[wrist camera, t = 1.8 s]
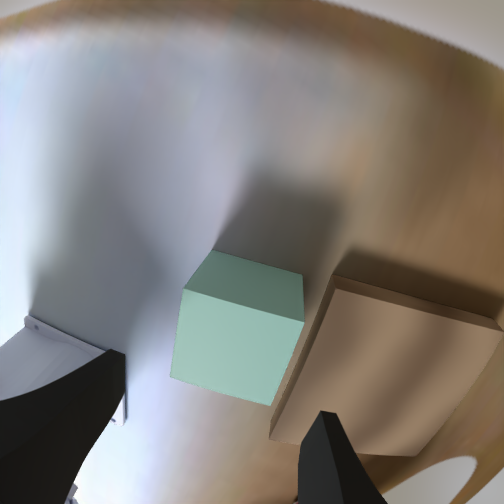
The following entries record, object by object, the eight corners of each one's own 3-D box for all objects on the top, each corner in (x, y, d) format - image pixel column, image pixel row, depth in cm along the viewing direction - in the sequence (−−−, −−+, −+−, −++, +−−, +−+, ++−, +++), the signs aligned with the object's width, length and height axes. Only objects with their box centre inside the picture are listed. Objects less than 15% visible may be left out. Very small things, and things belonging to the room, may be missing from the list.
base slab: (270, 421, 21) (268, 439, 19) (331, 274, 17) (335, 288, 15) (410, 440, 21) (415, 456, 19) (492, 318, 17) (504, 332, 15)
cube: (196, 325, 19) (169, 377, 15) (212, 249, 18) (183, 288, 13) (276, 347, 19) (270, 405, 14) (302, 274, 17) (304, 322, 13)
